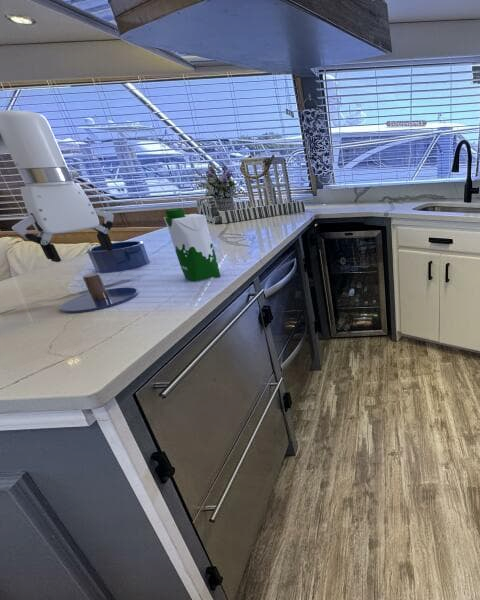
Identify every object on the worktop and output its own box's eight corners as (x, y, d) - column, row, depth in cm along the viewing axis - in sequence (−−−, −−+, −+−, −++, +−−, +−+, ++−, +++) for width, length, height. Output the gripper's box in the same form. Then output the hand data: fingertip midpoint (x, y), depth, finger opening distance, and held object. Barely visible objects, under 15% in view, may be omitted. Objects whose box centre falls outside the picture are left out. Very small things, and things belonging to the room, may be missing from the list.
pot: (117, 281, 95) (105, 253, 91) (85, 274, 103) (74, 248, 99) (165, 268, 106) (156, 243, 102) (133, 263, 114) (124, 239, 110)
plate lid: (80, 319, 71) (65, 289, 68) (50, 309, 77) (36, 281, 74) (150, 295, 83) (140, 269, 80) (120, 288, 89) (110, 263, 86)
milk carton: (181, 279, 94) (158, 209, 86) (213, 271, 101) (194, 205, 93) (192, 285, 89) (169, 211, 81) (225, 276, 96) (207, 207, 88)
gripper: (89, 175, 77) (117, 245, 84) (-20, 181, 63) (25, 264, 70) (104, 174, 74) (133, 247, 81) (-6, 180, 60) (40, 268, 67)
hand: (83, 255), depth 75 cm, fingers open, 9 cm apart
